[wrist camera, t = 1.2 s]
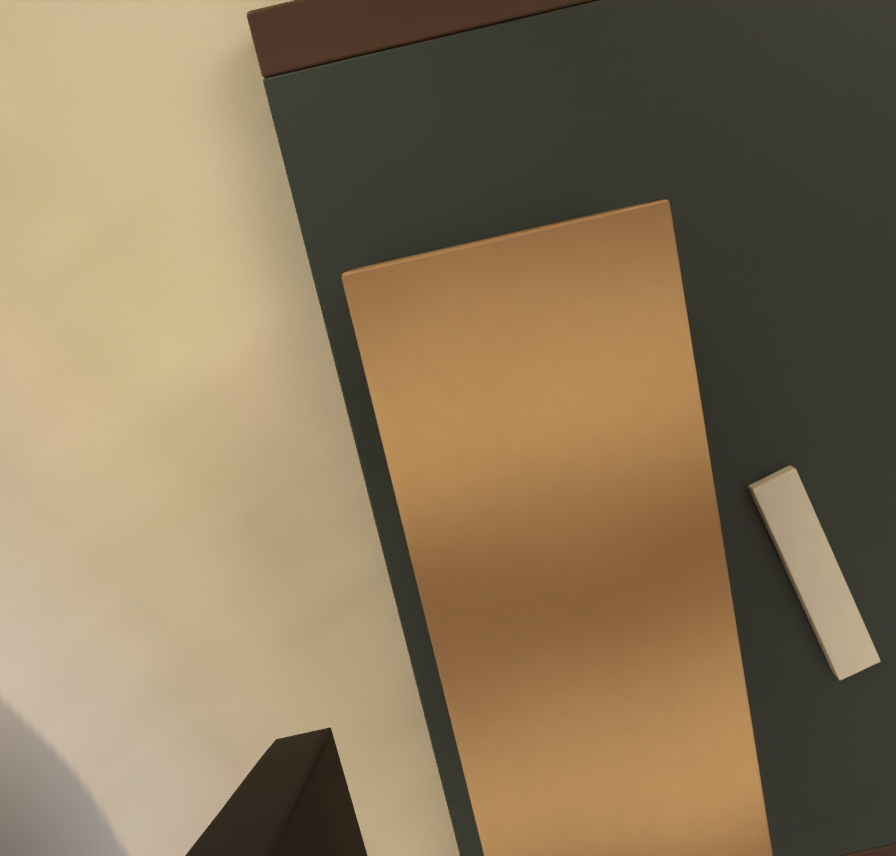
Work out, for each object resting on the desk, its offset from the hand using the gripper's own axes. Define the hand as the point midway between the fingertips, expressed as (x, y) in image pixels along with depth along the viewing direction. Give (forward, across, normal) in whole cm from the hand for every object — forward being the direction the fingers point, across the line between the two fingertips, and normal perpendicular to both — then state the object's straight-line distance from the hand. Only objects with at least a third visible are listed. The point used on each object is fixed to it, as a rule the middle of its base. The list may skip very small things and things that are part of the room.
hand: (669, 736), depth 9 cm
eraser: (+9, 0, +1) cm, 9 cm away
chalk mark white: (+9, -5, +3) cm, 11 cm away
